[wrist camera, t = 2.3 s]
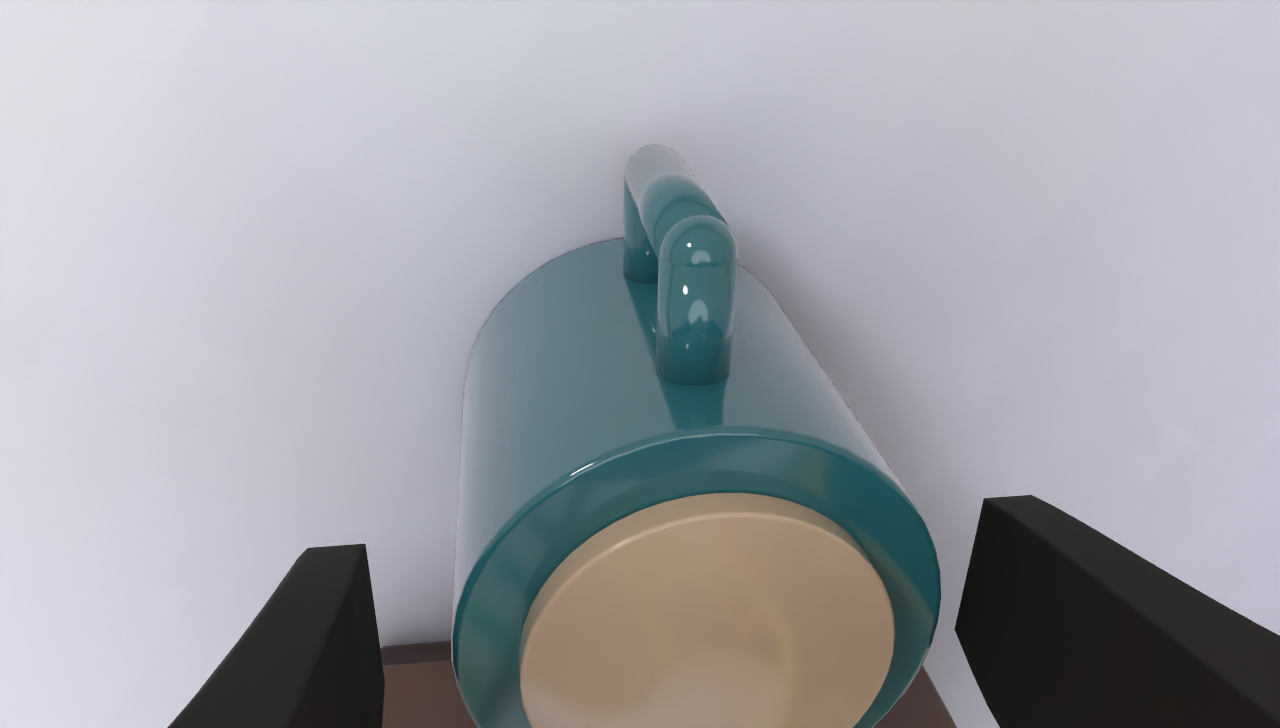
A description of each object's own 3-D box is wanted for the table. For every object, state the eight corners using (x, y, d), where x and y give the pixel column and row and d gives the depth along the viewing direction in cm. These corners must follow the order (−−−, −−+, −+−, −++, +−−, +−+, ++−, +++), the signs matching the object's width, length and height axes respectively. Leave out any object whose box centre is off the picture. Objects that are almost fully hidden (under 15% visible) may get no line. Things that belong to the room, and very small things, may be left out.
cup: (826, 116, 13) (1043, 267, 8) (783, 520, 17) (918, 816, 11) (442, 121, 13) (408, 290, 7) (474, 543, 16) (466, 868, 11)
